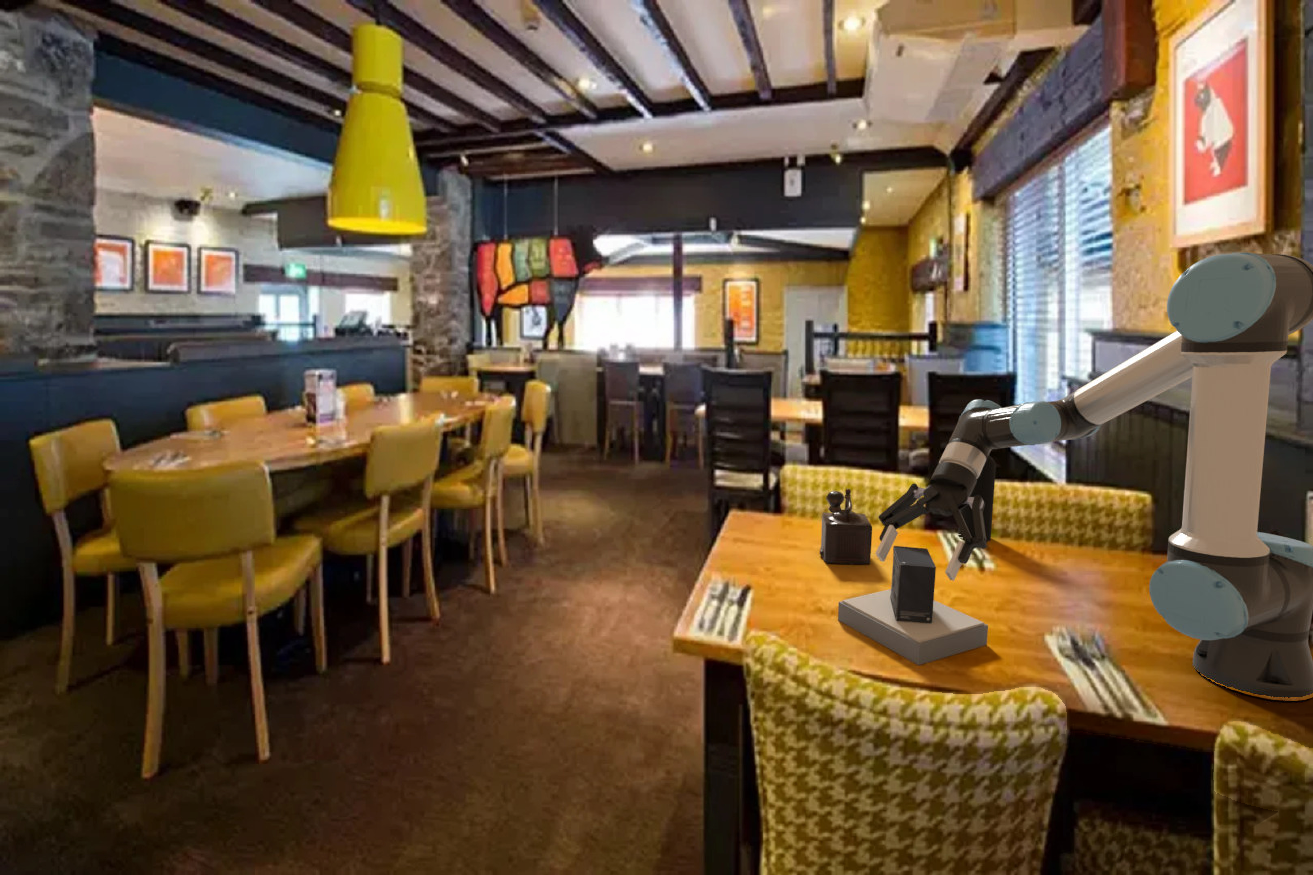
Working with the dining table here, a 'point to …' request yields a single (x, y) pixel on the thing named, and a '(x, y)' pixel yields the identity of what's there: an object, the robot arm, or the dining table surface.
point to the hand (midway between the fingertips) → (913, 567)
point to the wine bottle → (986, 491)
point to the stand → (913, 628)
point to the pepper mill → (845, 533)
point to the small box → (912, 584)
